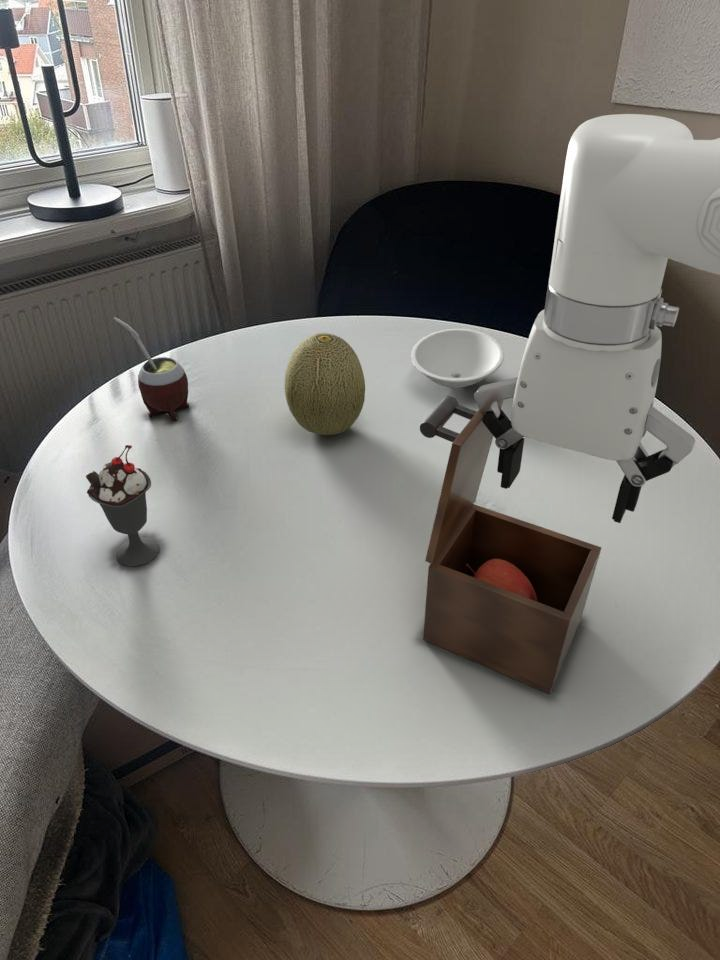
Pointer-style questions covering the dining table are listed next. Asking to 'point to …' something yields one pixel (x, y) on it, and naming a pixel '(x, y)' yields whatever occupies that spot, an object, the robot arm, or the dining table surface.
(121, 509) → the sundae
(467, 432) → the lid
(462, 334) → the dish
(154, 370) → the mate gourd
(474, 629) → the chest
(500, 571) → the apple
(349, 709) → the dining table surface
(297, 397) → the fruit
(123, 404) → the dining table surface
